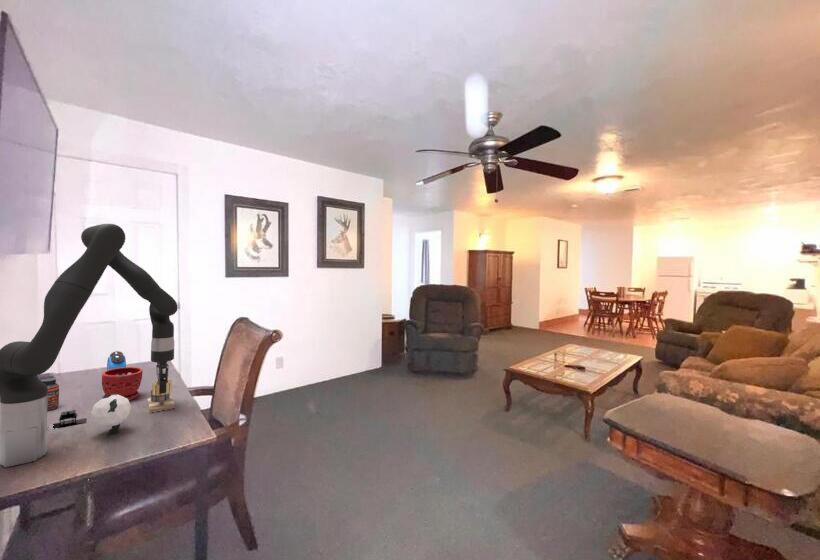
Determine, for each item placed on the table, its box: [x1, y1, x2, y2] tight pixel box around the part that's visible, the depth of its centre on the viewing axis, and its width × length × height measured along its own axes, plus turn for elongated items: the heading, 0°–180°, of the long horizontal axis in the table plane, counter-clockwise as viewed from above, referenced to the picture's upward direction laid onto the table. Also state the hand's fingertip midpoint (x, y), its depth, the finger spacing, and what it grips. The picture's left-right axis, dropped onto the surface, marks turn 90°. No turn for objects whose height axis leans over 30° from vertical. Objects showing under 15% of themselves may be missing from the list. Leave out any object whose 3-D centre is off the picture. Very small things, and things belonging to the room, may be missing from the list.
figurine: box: [90, 393, 132, 437], centre depth 118 cm, size 18×10×13 cm, turn 38°
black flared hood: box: [52, 409, 88, 430], centre depth 123 cm, size 12×7×5 cm, turn 131°
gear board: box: [146, 389, 176, 414], centre depth 142 cm, size 14×8×6 cm, turn 39°
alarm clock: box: [106, 350, 127, 375], centre depth 163 cm, size 13×6×15 cm, turn 44°
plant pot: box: [101, 366, 143, 401], centre depth 147 cm, size 13×13×12 cm
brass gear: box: [151, 380, 173, 396], centre depth 139 cm, size 6×6×4 cm
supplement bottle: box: [40, 377, 60, 412], centre depth 135 cm, size 6×6×11 cm
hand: (161, 390), depth 140 cm, fingers closed on brass gear, 6 cm apart
